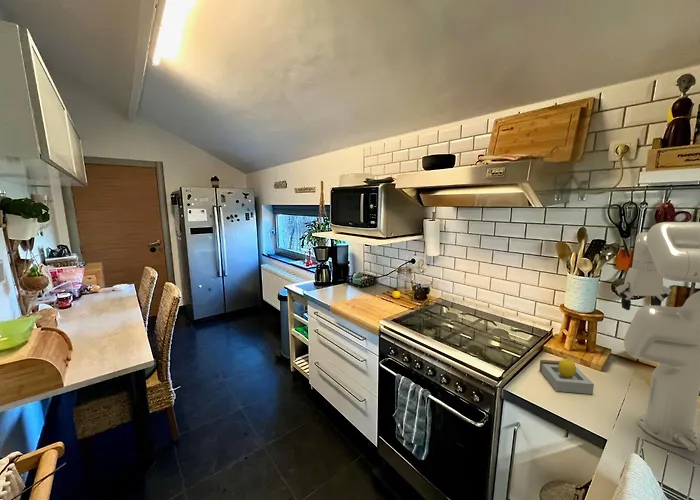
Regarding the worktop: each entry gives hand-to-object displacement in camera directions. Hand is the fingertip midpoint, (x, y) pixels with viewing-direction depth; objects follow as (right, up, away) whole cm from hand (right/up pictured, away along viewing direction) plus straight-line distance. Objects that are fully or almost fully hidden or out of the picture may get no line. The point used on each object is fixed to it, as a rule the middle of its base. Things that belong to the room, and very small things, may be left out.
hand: (640, 309), depth 112 cm
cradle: (-27, -29, +2) cm, 40 cm away
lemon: (-27, -27, +1) cm, 39 cm away
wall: (-26, -28, +9) cm, 39 cm away
